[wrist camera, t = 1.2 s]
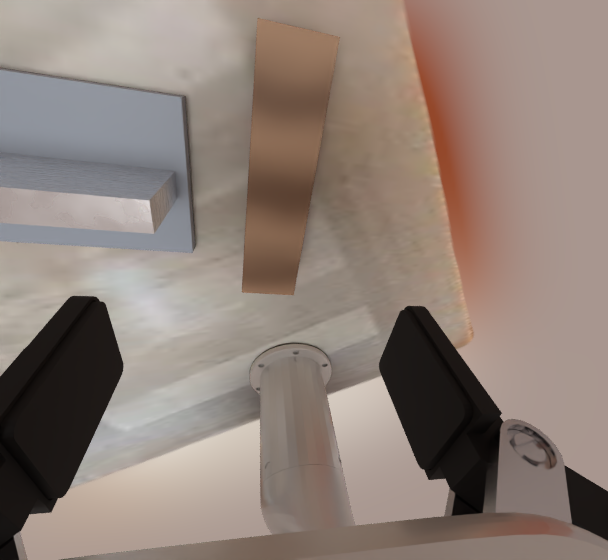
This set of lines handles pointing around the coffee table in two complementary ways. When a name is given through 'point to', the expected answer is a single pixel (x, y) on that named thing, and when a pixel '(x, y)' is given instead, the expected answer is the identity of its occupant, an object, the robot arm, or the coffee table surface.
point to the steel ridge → (83, 194)
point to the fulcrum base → (99, 148)
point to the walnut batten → (284, 150)
